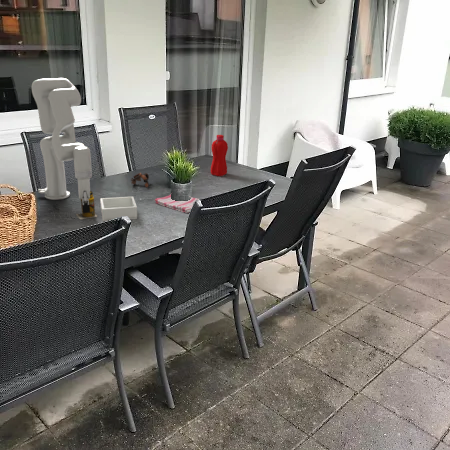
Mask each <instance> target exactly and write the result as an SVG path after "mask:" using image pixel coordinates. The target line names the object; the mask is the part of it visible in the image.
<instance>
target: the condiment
mask: <svg viewBox="0 0 450 450" xmlns="http://www.w3.org/2000/svg"><path fill="white" fill-rule="evenodd" d="M83 194H84V192H83ZM86 194H87V193H86ZM83 198H84V197H83ZM87 198H88V197H87ZM80 204H81V205H80V207H81V208H80V209H81V212H80V213H75V216H76V217H77V218H78V219H79V220H86V219H92V218H97V217H98V215H97V214H96V212H95V211H96V208H95V198H94V195H93V191H92V190H90V198H89V205H90V213H83V207H82V205H83V200H82V199H80Z"/></svg>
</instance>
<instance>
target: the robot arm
mask: <svg viewBox="0 0 450 450" xmlns="http://www.w3.org/2000/svg"><path fill="white" fill-rule="evenodd" d="M31 94H32V97H33V98H34V101H35V104H36V106H37V112H38V119H39V124H40V129H41V131H42V133H44V134H45V135H46V134H47V135H50V134H51V135H50V136H46V137H44V138H42V139H41V140H40V141H39V146H40V150H41V154H42V158H43V164H44V165H43V166H44V173H45V183H46V187H45V188H38V190H37V191H38V194H39V193H40V195H43V194H44V198H46V199H47V200H53V201H55V200H64V199H67V198H69V197H70V195H71V192H70V191H68V190H67V181H66V172H65V163H64V162H68V161H73V165H74V166H73V168H74V177H75V179H77V188H78V189H77V190H78V199H79V200H81V199H82V200H83V205H82V207H83V213H90V205H89V198H90V191H91V182H90V180H91V178H92V177H93V173H92V171H93V170H92V158H91V156H92V155H91V149H90V148H89V147H88V146H86V145H85V144H84V143H82V142H76V132H75V131H76V130H75V121H76V120H75V116H74V113H73V110H72V108H73V107H78V106H80V105H81V103H82V97H81V93H80V92H79V89H77V87H76V86H75V85H74V84H73V83H72V82H71V81H70V80H69V79H67V78H64V77H58V78H54V77H53V78H40V79H36V80H33V82H32V84H31ZM62 133H63V134H62ZM83 192H84V194H83ZM86 193H87V194H86ZM83 197H84V198H83ZM87 197H88V198H87Z"/></svg>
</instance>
